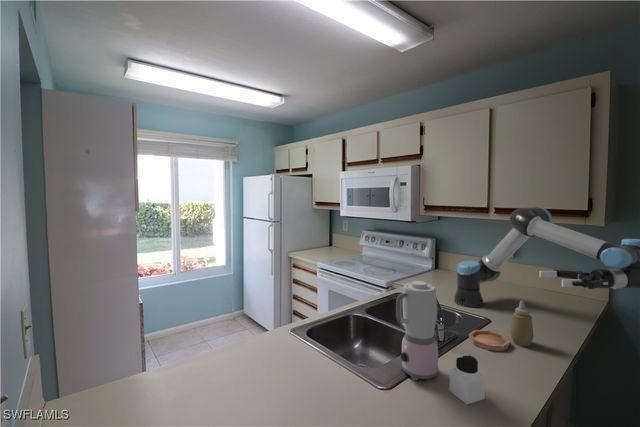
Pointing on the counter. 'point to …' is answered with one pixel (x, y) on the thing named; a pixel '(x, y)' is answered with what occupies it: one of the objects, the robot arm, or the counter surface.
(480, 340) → the dish
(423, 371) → the blender
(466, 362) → the medicine bottle
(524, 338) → the squeeze bottle
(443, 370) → the counter surface
